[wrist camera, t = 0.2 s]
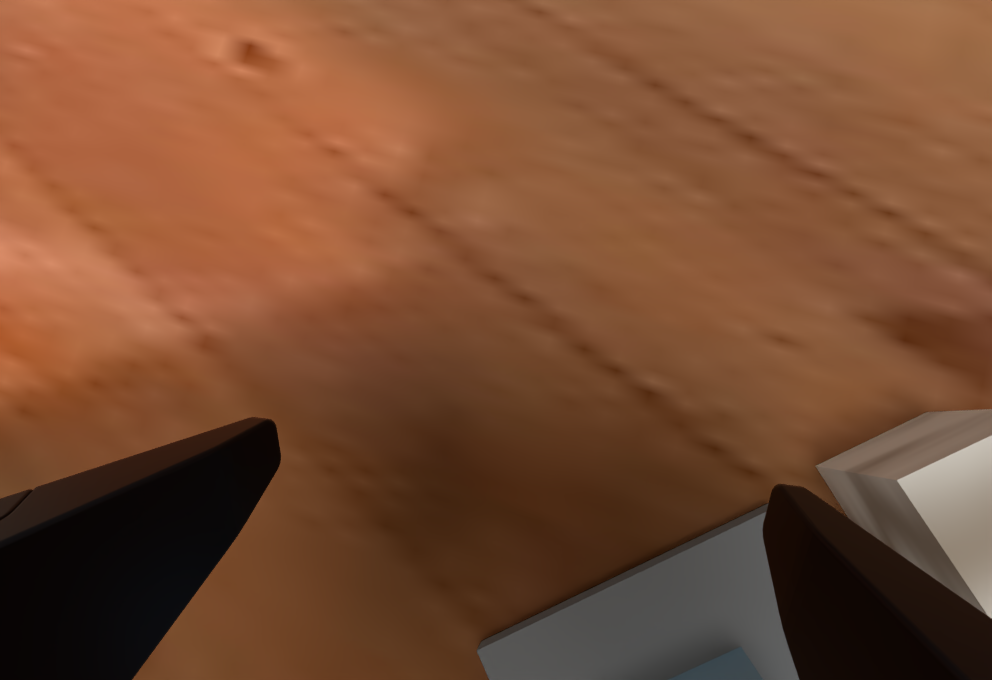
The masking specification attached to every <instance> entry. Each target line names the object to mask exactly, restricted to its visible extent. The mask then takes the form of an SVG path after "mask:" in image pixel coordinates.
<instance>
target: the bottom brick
mask: <svg viewBox="0 0 992 680" xmlns="http://www.w3.org/2000/svg"><path fill="white" fill-rule="evenodd" d="M669 680H763V678H762V677H761V676H760V674H759V673H758V671H757V670H756V668H755V667H754V665H753V664H752V662H751V661H750V659H749V658H748V656H747V655H746V653H745V652H744V650H743V649H742V647H739V648H736V649H734V650H732V651H730V652H728V653H725V654H723V655H721V656H719V657H717V658H715V659H712V660H710V661H708V662H706V663H704V664H701V665H699V666H697V667H695V668H693V669H690V670H688V671H686V672H684V673H682V674H680V675H677V676H675V677H673V678H671V679H669Z"/></svg>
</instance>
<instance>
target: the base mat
mask: <svg viewBox="0 0 992 680" xmlns="http://www.w3.org/2000/svg"><path fill="white" fill-rule="evenodd" d="M768 504H769V503H768ZM768 504H766V505H763V506H761V507H759V508H757V509H755V510H753V511H751V512H749V513H747V514H745V515H743V516H741V517H738V518H736V519H734V520H732V521H730V522H728V523H726V524H724V525H722V526H720V527H718V528H716V529H714V530H711V531H709V532H707V533H705V534H703V535H701V536H699V537H697V538H695V539H693V540H691V541H689V542H687V543H684V544H682V545H680V546H678V547H676V548H674V549H672V550H670V551H668V552H666V553H664V554H662V555H660V556H657V557H655V558H653V559H651V560H649V561H647V562H645V563H643V564H641V565H639V566H637V567H635V568H633V569H630V570H628V571H626V572H624V573H622V574H620V575H618V576H616V577H614V578H612V579H610V580H608V581H605V582H603V583H601V584H599V585H597V586H595V587H593V588H591V589H589V590H587V591H585V592H583V593H581V594H578V595H576V596H574V597H572V598H570V599H568V600H566V601H564V602H562V603H560V604H558V605H556V606H554V607H551V608H549V609H547V610H545V611H543V612H541V613H539V614H537V615H535V616H533V617H531V618H529V619H527V620H524V621H522V622H520V623H518V624H516V625H514V626H512V627H510V628H508V629H506V630H504V631H502V632H499V633H497V634H495V635H493V636H491V637H489V638H487V639H485V640H483V641H481V643H480V645H479V647H478V649H477V653H478V655H479V657H480V659H481V662H482V664H483V666H484V669H485V671H486V673H487V676H488V678H489V680H669V679H671V678H673V677H675V676H677V675H680V674H682V673H684V672H686V671H688V670H690V669H693V668H695V667H697V666H699V665H701V664H704V663H706V662H708V661H710V660H712V659H715V658H717V657H719V656H721V655H723V654H725V653H728V652H730V651H732V650H734V649H736V648H739V647H742V649H743V650H744V652H745V653H746V655H747V656H748V658H749V659H750V661H751V662H752V664H753V665H754V667H755V668H756V670H757V671H758V673H759V674H760V676H761V677H762V678H763V680H799V677H798V674H797V671H796V668H795V665H794V663H793V660H792V657H791V654H790V651H789V648H788V645H787V641H786V638H785V635H784V631H783V628H782V624H781V620H780V616H779V611H778V606H777V602H776V597H775V592H774V588H773V583H772V578H771V574H770V569H769V564H768V560H767V555H766V550H765V545H764V541H763V522H764V518H765V515H766V511H767V507H768Z"/></svg>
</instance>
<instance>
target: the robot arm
mask: <svg viewBox="0 0 992 680" xmlns="http://www.w3.org/2000/svg"><path fill="white" fill-rule="evenodd" d="M280 461H281V453H280V447H279V440H278V434H277V428H276V425H275V423H274V421H272V420H271V419H265V418H257V417H251V418H247V419H244V420H241V421H238V422H235V423H232V424H229V425H226V426H223V427H220V428H216V429H213V430H210V431H207V432H204V433H201V434H198V435H195V436H192V437H189V438H186V439H183V440H180V441H176V442H173V443H170V444H167V445H164V446H161V447H158V448H155V449H152V450H149V451H146V452H143V453H140V454H137V455H133V456H130V457H127V458H124V459H121V460H118V461H115V462H112V463H109V464H106V465H103V466H100V467H97V468H93V469H90V470H87V471H84V472H81V473H78V474H75V475H72V476H69V477H66V478H63V479H60V480H57V481H53V482H50V483H47V484H44V485H41V486H38V487H36V488H35V489H34V490H32V489H29V490H26V491H22V492H19V493H16V494H13V495H10V496H7V497H4V498H1V499H0V680H132V679H133V678H134V676H135V675H136V674H137V672H138V671H139V670H140V668H141V667H142V665H143V664H144V663H145V661H146V660H147V659H148V657H149V656H150V655H151V653H152V652H153V651H154V649H155V648H156V646H157V645H158V644H159V642H160V641H161V640H162V638H163V637H164V636H165V634H166V633H167V632H168V630H169V629H170V627H171V626H172V625H173V623H174V622H175V621H176V619H177V618H178V617H179V615H180V614H181V612H182V611H183V610H184V608H185V607H186V606H187V604H188V603H189V602H190V600H191V599H192V598H193V596H194V595H195V593H196V592H197V591H198V589H199V588H200V587H201V585H202V584H203V583H204V581H205V580H206V578H207V577H208V576H209V574H210V573H211V572H212V570H213V569H214V568H215V566H216V565H217V564H218V562H219V561H220V559H221V558H222V557H223V555H224V554H225V553H226V551H227V550H228V549H229V547H230V546H231V544H232V543H233V542H234V540H235V539H236V537H237V536H238V534H239V533H240V531H241V530H242V528H243V526H244V525H245V523H246V522H247V520H248V518H249V517H250V515H251V513H252V511H253V510H254V508H255V506H256V505H257V503H258V501H259V500H260V498H261V496H262V495H263V493H264V491H265V490H266V488H267V486H268V485H269V483H270V481H271V480H272V478H273V476H274V475H275V473H276V471H277V470H278V467H279V465H280ZM763 541H764V545H765V550H766V555H767V560H768V564H769V569H770V574H771V578H772V583H773V588H774V592H775V597H776V602H777V606H778V611H779V616H780V620H781V624H782V628H783V631H784V635H785V638H786V641H787V645H788V648H789V651H790V654H791V657H792V660H793V663H794V665H795V668H796V671H797V674H798V677H799V680H992V618H990V617H989V616H987V615H986V614H984V613H983V612H982V611H980V610H979V609H977V608H976V607H974V606H973V605H972V604H970V603H969V602H967V601H966V600H964V599H963V598H962V597H960V596H959V595H957V594H956V593H954V592H953V591H952V590H950V589H949V588H947V587H946V586H944V585H943V584H942V583H940V582H939V581H937V580H936V579H934V578H933V577H932V576H930V575H929V574H927V573H926V572H924V571H923V570H922V569H920V568H919V567H917V566H916V565H914V564H913V563H912V562H910V561H909V560H907V559H906V558H904V557H903V556H902V555H900V554H899V553H897V552H896V551H894V550H893V549H892V548H890V547H889V546H887V545H886V544H884V543H883V542H882V541H880V540H879V539H877V538H876V537H874V536H873V535H872V534H870V533H869V532H867V531H866V530H864V529H863V528H862V527H860V526H859V525H857V524H856V523H854V522H853V521H852V520H850V519H849V518H847V517H846V516H844V515H843V514H842V513H840V512H839V511H837V510H836V509H834V508H833V507H832V506H830V505H829V504H827V503H826V502H824V501H823V500H822V499H820V498H819V497H817V496H816V495H814V494H813V493H812V492H810V491H809V490H807V489H806V488H804V487H801V486H793V485H785V484H778V485H776V486H775V487H774V488H773V490H772V492H771V496H770V500H769V504H768V507H767V511H766V515H765V518H764V522H763Z"/></svg>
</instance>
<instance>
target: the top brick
mask: <svg viewBox="0 0 992 680" xmlns="http://www.w3.org/2000/svg"><path fill="white" fill-rule="evenodd" d="M816 468H817V469H818V471H819V473H820V474H821V476H822V477H823V479H824V480H825V482H826V484H827V485H828V487H829V488H830V490H831V491H832V493H833V495H834V496H835V498H836V499H837V501H838V502H839V504H840V506H841V507H842V509H843V510H844V512H845V513H846V515H847V516H848V518H849V519H850V520H852V521H853V522H854V523H856V524H857V525H859V526H860V527H862V528H863V529H864V530H866V531H867V532H869V533H870V534H872V535H873V536H874V537H876V538H877V539H879V540H880V541H882V542H883V543H884V544H886V545H887V546H889V547H890V548H892V549H893V550H894V551H896V552H897V553H899V554H900V555H902V556H903V557H904V558H906V559H907V560H909V561H910V562H912V563H913V564H914V565H916V566H917V567H919V568H920V569H922V570H923V571H924V572H926V573H927V574H929V575H930V576H932V577H933V578H934V579H936V580H937V581H939V582H940V583H942V584H943V585H944V586H946V587H947V588H949V589H950V590H952V591H953V592H954V593H956V594H957V595H959V596H960V597H962V598H963V599H964V600H966V601H967V602H969V603H970V604H972V605H973V606H974V607H976V608H977V609H979V610H980V611H982V612H983V613H984V614H986V615H987V616H989V617H990V618H992V409H986V410H963V411H940V412H926V413H924V414H922V415H920V416H918V417H915V418H913V419H911V420H909V421H907V422H905V423H903V424H901V425H899V426H897V427H895V428H893V429H891V430H889V431H887V432H884V433H882V434H880V435H878V436H876V437H874V438H872V439H870V440H868V441H866V442H864V443H862V444H860V445H858V446H856V447H853V448H851V449H849V450H847V451H845V452H843V453H841V454H839V455H837V456H835V457H833V458H831V459H829V460H827V461H825V462H822V463H820V464H818V465H816Z"/></svg>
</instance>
